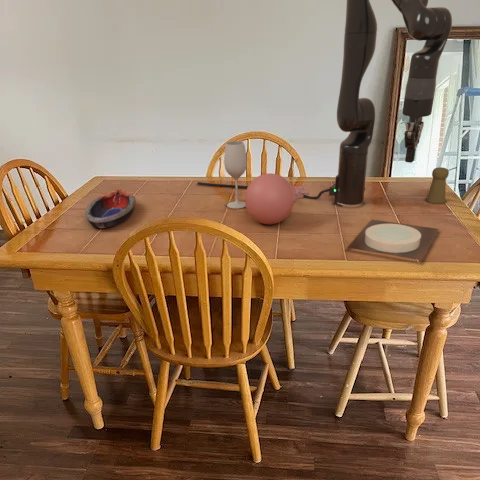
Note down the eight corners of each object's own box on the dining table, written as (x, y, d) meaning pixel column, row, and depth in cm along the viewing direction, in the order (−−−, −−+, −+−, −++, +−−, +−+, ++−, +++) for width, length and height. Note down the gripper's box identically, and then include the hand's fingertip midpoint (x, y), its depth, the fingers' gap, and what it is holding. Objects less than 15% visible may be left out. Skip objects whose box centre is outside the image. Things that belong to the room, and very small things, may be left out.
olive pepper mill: (446, 203, 168) (452, 170, 162) (427, 203, 169) (432, 170, 164) (443, 197, 173) (449, 165, 167) (425, 197, 174) (430, 165, 169)
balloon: (309, 231, 151) (312, 181, 143) (244, 232, 153) (242, 182, 145) (307, 214, 164) (309, 167, 156) (246, 214, 166) (245, 168, 158)
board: (346, 250, 138) (347, 247, 138) (371, 222, 156) (371, 219, 155) (421, 263, 130) (421, 260, 129) (438, 232, 147) (438, 228, 147)
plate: (357, 247, 137) (358, 238, 136) (372, 229, 148) (373, 220, 147) (413, 256, 131) (414, 247, 130) (424, 236, 142) (426, 227, 141)
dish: (76, 232, 157) (72, 217, 154) (103, 201, 183) (100, 188, 180) (124, 232, 156) (122, 216, 153) (145, 200, 182) (143, 187, 180)
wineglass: (222, 207, 173) (219, 145, 162) (231, 200, 179) (228, 140, 168) (243, 209, 170) (241, 146, 159) (251, 202, 176) (249, 141, 165)
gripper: (410, 91, 139) (401, 155, 148) (399, 98, 129) (390, 166, 138) (438, 92, 136) (427, 157, 145) (429, 100, 126) (417, 169, 135)
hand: (409, 161), depth 142 cm, fingers closed
